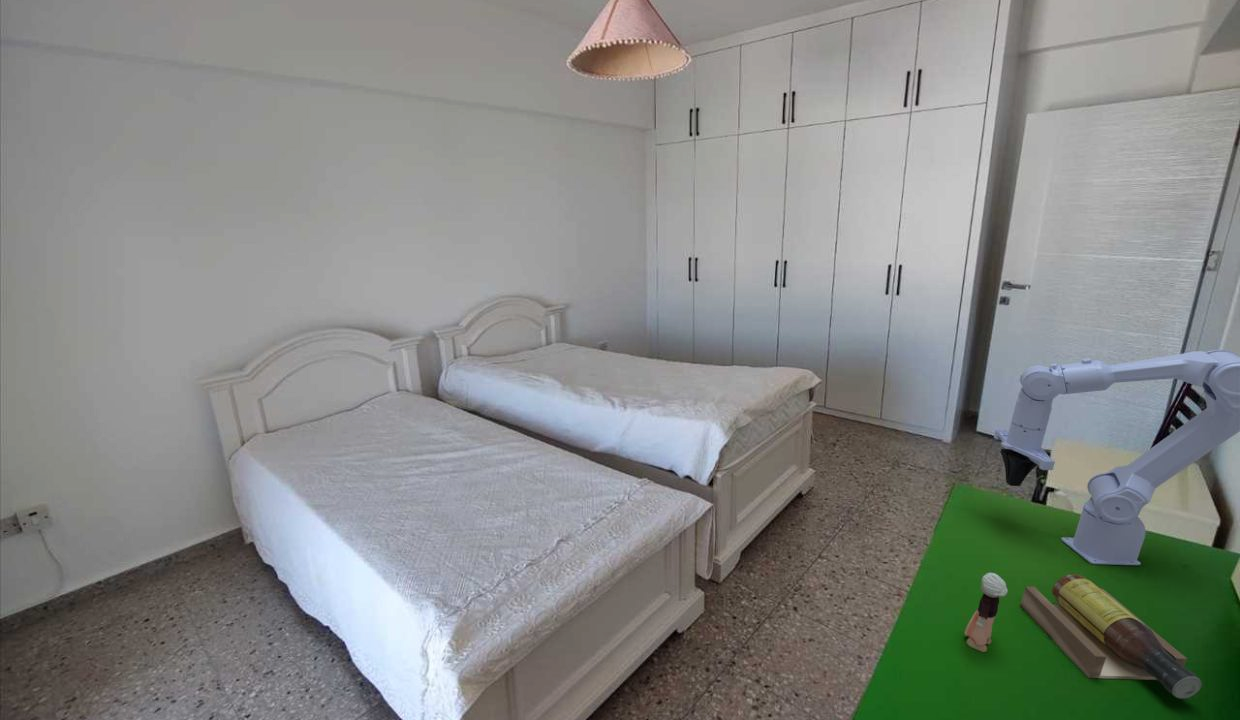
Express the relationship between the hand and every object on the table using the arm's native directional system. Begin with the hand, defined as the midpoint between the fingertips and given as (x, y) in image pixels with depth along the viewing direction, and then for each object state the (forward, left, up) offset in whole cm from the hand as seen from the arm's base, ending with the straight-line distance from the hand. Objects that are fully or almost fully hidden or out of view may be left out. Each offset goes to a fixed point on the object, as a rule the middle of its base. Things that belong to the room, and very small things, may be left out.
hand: (1013, 484), depth 112 cm
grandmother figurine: (+25, +32, -11) cm, 42 cm away
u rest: (+6, +31, -10) cm, 33 cm away
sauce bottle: (+5, +23, -7) cm, 24 cm away
